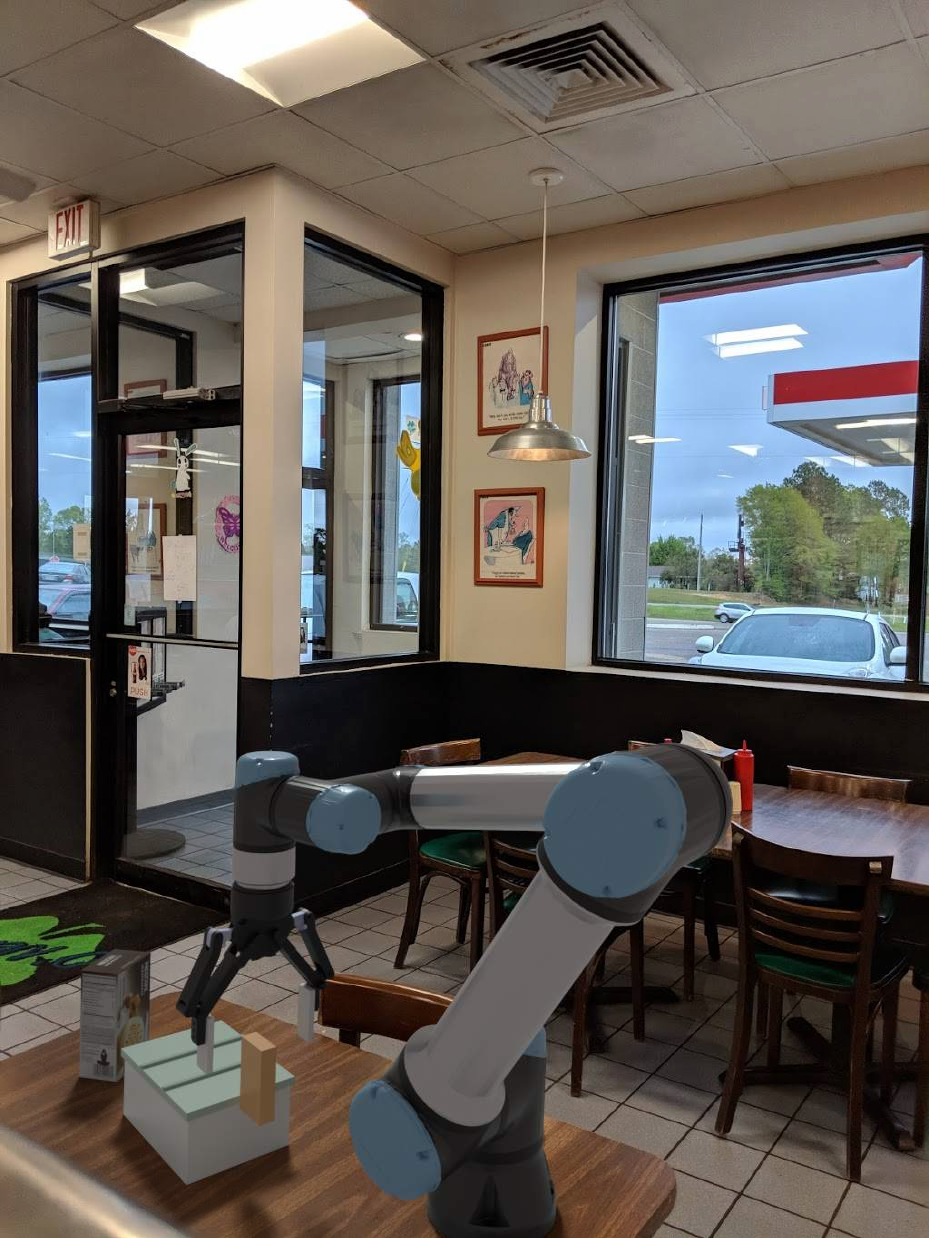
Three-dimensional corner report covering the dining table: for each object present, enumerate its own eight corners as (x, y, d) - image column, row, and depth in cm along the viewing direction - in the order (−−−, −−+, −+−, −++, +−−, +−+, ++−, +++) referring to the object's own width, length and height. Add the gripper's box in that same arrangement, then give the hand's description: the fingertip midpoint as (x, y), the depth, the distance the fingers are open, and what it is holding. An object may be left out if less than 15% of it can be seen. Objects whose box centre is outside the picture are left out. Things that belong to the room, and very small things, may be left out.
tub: (288, 1144, 124) (290, 1083, 124) (186, 1184, 115) (188, 1119, 115) (218, 1083, 139) (220, 1028, 139) (123, 1114, 130) (124, 1055, 130)
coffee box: (112, 1049, 149) (115, 947, 148) (149, 1054, 147) (152, 951, 147) (77, 1077, 140) (79, 968, 139) (116, 1083, 138) (119, 973, 138)
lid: (319, 1113, 119) (321, 1032, 119) (209, 1154, 110) (211, 1066, 110) (221, 1035, 140) (223, 965, 140) (120, 1064, 130) (122, 990, 130)
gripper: (333, 857, 127) (327, 1015, 127) (150, 889, 111) (144, 1070, 111) (365, 871, 121) (359, 1036, 122) (178, 907, 105) (171, 1097, 105)
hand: (256, 1053), depth 116 cm, fingers open, 13 cm apart
